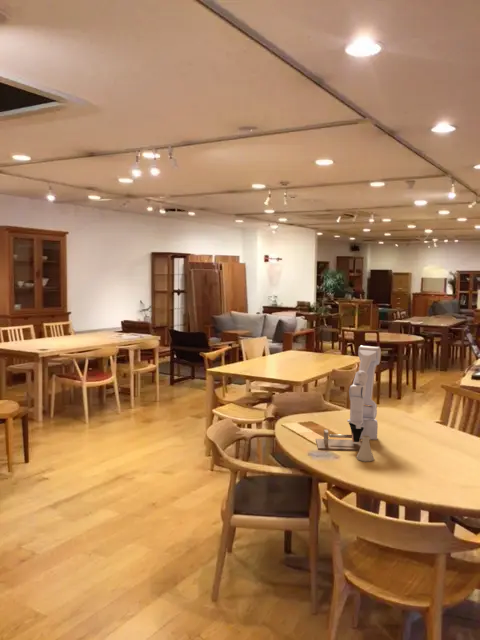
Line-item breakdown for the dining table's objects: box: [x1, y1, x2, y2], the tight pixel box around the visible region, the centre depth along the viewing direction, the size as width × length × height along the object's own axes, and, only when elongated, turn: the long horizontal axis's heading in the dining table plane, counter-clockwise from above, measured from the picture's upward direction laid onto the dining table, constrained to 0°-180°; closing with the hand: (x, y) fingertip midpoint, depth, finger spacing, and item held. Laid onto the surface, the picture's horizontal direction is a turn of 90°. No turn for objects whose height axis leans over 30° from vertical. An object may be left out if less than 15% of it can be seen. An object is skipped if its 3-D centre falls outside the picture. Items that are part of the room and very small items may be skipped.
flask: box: [355, 435, 375, 462], centre depth 247 cm, size 7×7×10 cm
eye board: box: [315, 429, 363, 452], centre depth 265 cm, size 22×14×7 cm, turn 87°
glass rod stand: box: [328, 432, 354, 442], centre depth 265 cm, size 13×5×5 cm, turn 87°
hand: (355, 440), depth 265 cm, fingers closed on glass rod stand, 5 cm apart
